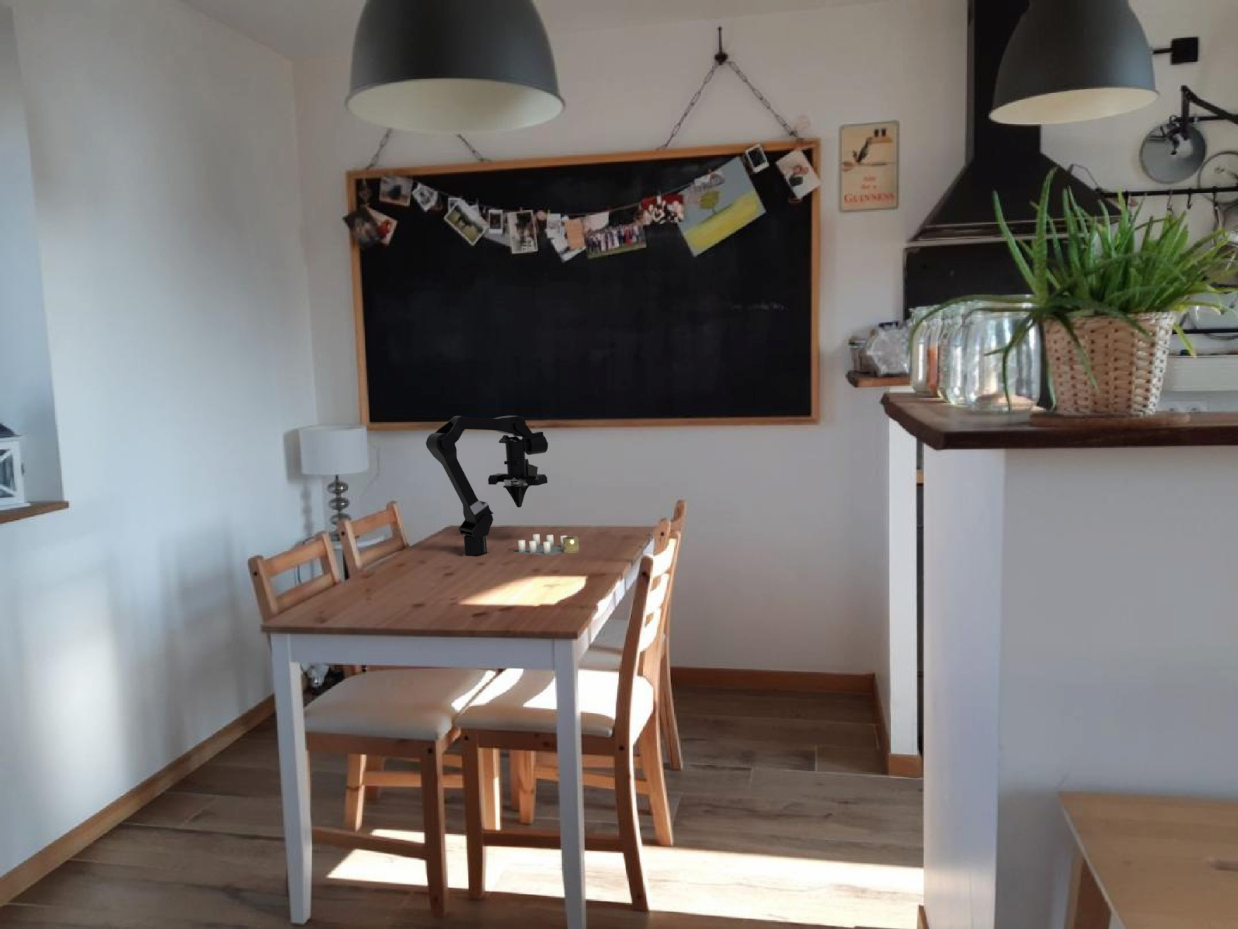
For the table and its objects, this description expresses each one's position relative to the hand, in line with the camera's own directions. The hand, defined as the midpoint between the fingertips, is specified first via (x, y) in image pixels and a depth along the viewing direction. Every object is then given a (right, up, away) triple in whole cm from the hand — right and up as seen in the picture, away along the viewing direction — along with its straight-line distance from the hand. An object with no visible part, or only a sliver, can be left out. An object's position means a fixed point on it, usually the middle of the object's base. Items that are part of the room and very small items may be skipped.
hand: (519, 507), depth 291 cm
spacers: (+8, -12, -8) cm, 17 cm away
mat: (+9, -13, -9) cm, 18 cm away
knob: (+17, -13, -14) cm, 25 cm away
